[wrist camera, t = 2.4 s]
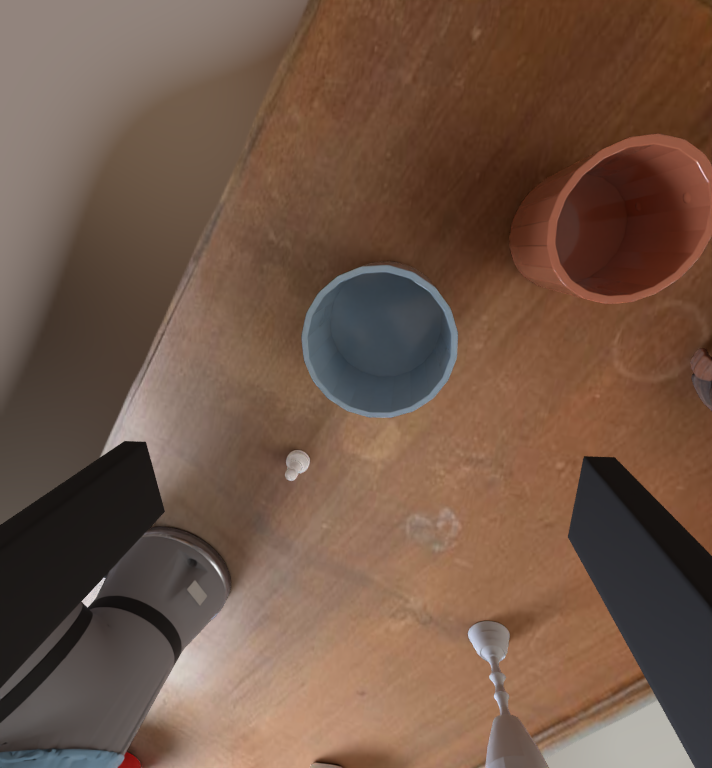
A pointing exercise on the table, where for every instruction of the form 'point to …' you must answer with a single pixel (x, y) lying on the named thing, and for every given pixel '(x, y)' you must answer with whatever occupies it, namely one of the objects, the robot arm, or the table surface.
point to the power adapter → (323, 765)
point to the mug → (617, 221)
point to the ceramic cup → (130, 761)
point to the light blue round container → (380, 340)
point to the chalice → (503, 705)
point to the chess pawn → (296, 464)
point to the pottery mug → (702, 375)
